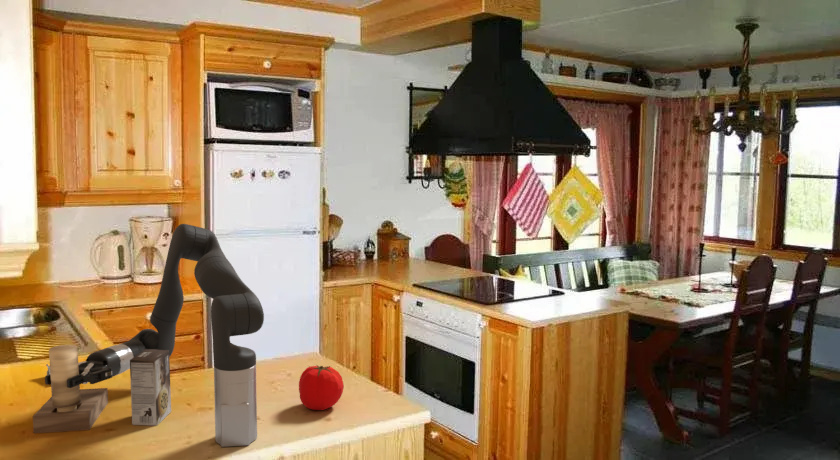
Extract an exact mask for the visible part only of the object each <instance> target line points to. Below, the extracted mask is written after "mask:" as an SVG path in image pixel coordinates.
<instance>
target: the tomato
mask: <svg viewBox="0 0 840 460" xmlns="http://www.w3.org/2000/svg"><path fill="white" fill-rule="evenodd" d="M298 392H299V393H298V394H299V400H300V402H301V404H302V405H303V406H305V407H306V408H307V409H309V410H314V411H323V410H327V409H330V408H332V407H333V406H334V405H336V404H337V403H339V401H340V399H341V398H342V395H343V392H344V381H343V377H342V375H341V374H340V372H339V371H337V370H336V369H335V368H334V367H332V366H331V365H329V366H323V365H320V366H319V365H311V366H310V365H308V366H307V368H305V369H304V371H302V373H301V375H300V377H299V382H298Z"/></svg>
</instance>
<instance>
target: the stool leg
mask: <svg viewBox="0 0 840 460" xmlns="http://www.w3.org/2000/svg"><path fill="white" fill-rule="evenodd" d="M78 351H79V350H78V345H76V344H61V345H60V344H59V345H55V346H52V347H50V348H49V349H48V356H49V360H48V361H49V366H50V375H51V384H50V387H51V397H52V406H53V407H55V408H57V412H72V411H76V410H77V405H78V404H79V403H80V402H81V398H80V389H81V388H80V387H81V386H80V385H81V384H80V385H77V386H75V387H72V388H68V387H67V379H68V378H71V377H74V376H76V375H79V365H78V363H79V352H78Z"/></svg>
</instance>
